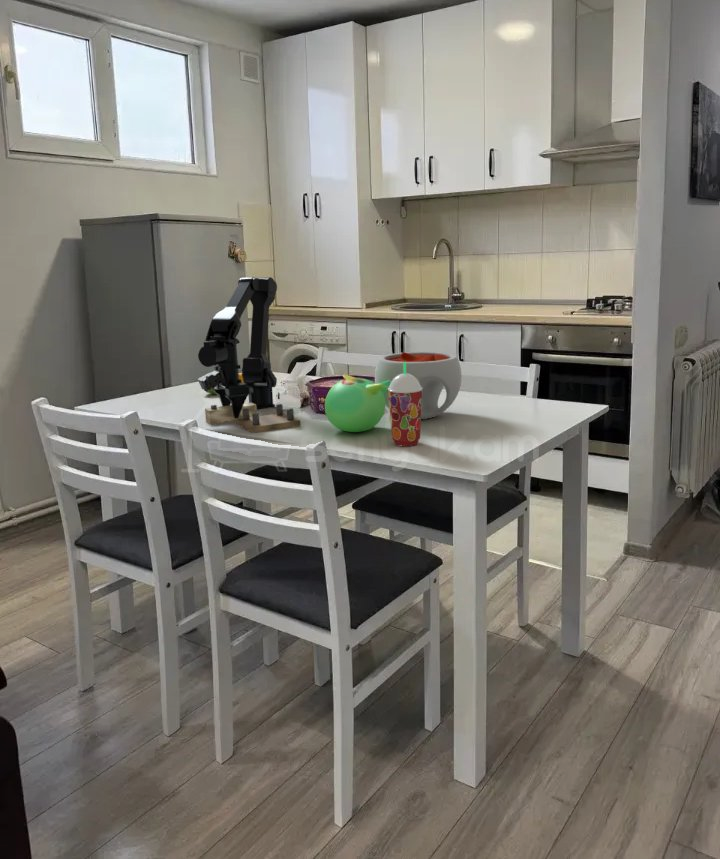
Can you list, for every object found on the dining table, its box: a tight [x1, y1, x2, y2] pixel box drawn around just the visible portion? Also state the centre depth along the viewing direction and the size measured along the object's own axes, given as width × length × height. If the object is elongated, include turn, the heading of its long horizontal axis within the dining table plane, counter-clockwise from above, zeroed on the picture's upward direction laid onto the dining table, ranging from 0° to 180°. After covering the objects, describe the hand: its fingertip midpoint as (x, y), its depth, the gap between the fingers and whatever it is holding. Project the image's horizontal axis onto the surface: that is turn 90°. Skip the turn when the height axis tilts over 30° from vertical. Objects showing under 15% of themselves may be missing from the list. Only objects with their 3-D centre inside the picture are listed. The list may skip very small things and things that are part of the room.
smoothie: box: [388, 362, 423, 447], centre depth 183 cm, size 8×8×20 cm
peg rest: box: [236, 403, 302, 433], centre depth 210 cm, size 14×12×4 cm
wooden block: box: [204, 402, 258, 425], centre depth 219 cm, size 14×4×5 cm, turn 118°
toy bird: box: [324, 374, 391, 433], centre depth 199 cm, size 18×17×15 cm
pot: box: [374, 351, 463, 420], centre depth 213 cm, size 24×24×18 cm
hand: (231, 415), depth 219 cm, fingers open, 8 cm apart
